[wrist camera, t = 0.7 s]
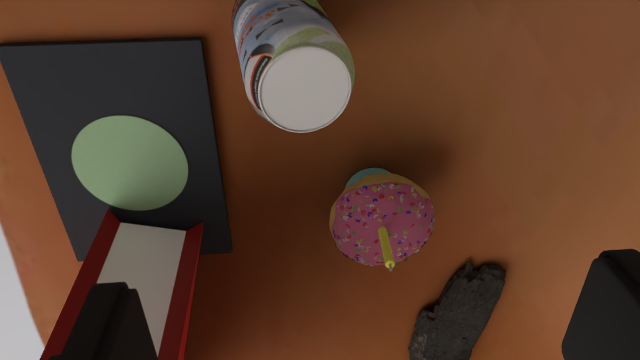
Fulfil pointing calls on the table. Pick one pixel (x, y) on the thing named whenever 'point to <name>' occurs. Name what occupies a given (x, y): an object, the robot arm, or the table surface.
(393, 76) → the table surface
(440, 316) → the wood
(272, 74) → the beverage can
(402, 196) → the cupcake
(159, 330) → the book
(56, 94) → the desk mat
